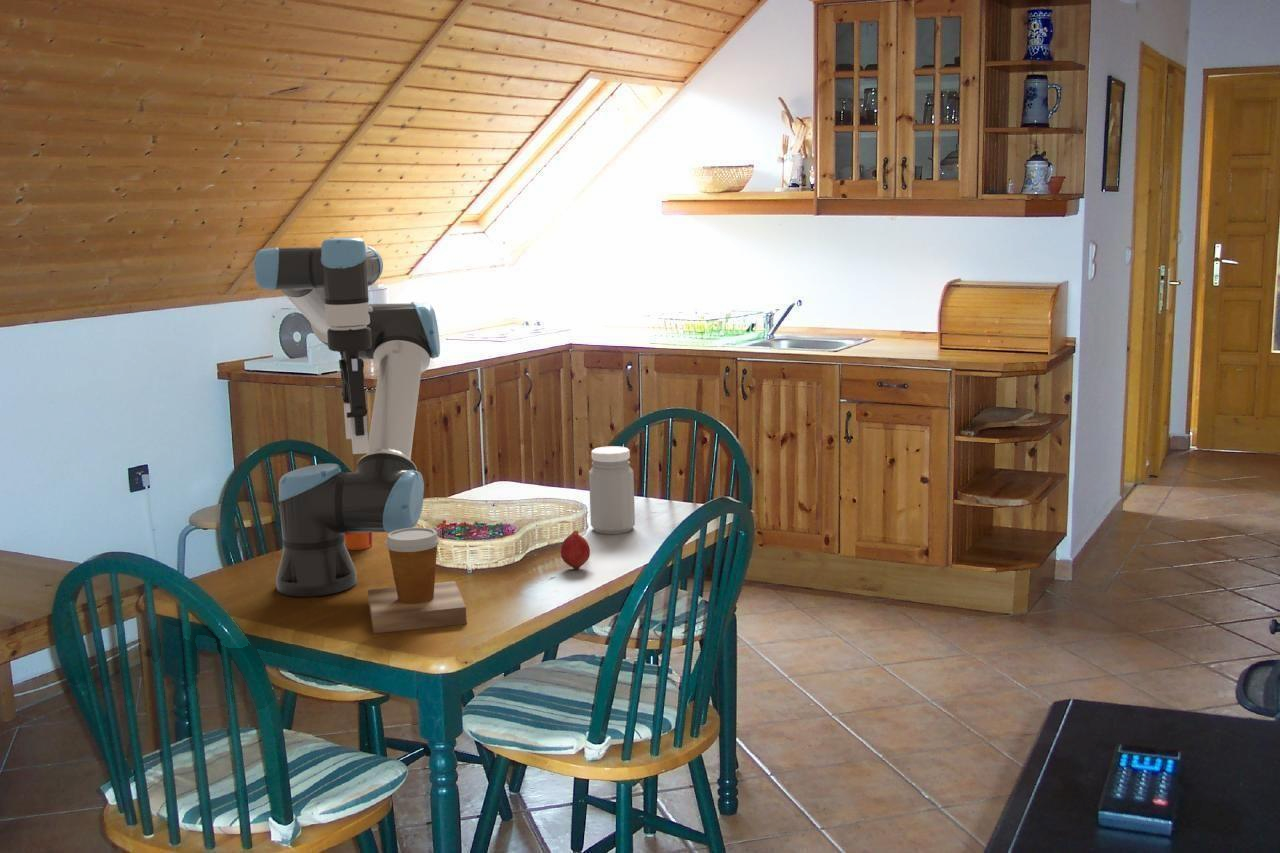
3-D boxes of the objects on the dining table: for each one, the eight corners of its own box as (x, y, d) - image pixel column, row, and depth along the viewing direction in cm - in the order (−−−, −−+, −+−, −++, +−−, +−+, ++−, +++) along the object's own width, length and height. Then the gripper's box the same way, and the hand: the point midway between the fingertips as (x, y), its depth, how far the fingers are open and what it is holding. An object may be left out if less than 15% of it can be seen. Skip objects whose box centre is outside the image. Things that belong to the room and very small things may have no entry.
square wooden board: (368, 605, 239) (367, 589, 239) (455, 596, 243) (455, 581, 243) (373, 633, 224) (372, 616, 224) (466, 623, 228) (465, 607, 228)
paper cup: (355, 540, 285) (351, 477, 282) (384, 543, 281) (380, 480, 279) (332, 549, 278) (327, 485, 275) (361, 553, 274) (357, 488, 272)
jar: (589, 535, 283) (586, 454, 280) (592, 524, 293) (589, 445, 290) (634, 534, 283) (631, 453, 280) (635, 523, 293) (633, 444, 289)
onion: (561, 573, 256) (559, 534, 255) (561, 565, 262) (560, 526, 260) (590, 572, 256) (589, 533, 255) (590, 564, 262) (589, 525, 260)
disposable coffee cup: (431, 608, 227) (428, 541, 225) (380, 605, 229) (376, 540, 227) (450, 591, 237) (446, 527, 234) (400, 589, 239) (396, 526, 236)
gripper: (378, 333, 217) (386, 457, 221) (363, 318, 241) (371, 430, 245) (332, 336, 215) (341, 461, 219) (322, 320, 238) (330, 434, 243)
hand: (357, 445), depth 232 cm, fingers open, 13 cm apart
